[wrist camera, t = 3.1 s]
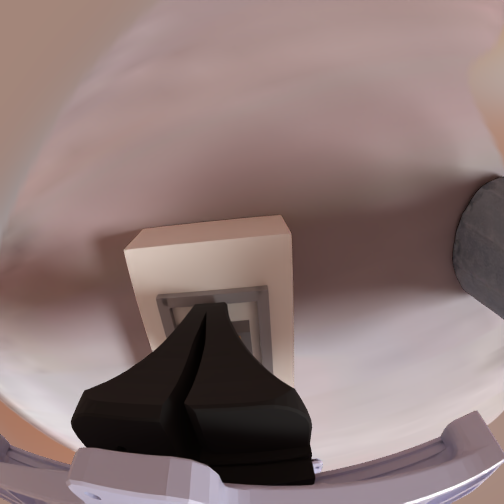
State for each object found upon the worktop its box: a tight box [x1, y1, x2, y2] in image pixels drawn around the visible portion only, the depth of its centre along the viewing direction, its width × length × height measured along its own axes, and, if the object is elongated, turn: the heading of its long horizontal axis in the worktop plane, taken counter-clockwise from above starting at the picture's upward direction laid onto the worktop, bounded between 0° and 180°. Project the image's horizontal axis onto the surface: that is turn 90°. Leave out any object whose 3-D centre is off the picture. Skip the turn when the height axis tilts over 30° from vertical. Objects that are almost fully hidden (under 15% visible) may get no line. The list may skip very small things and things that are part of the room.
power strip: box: [124, 215, 294, 388], centre depth 17 cm, size 20×7×3 cm, turn 5°
